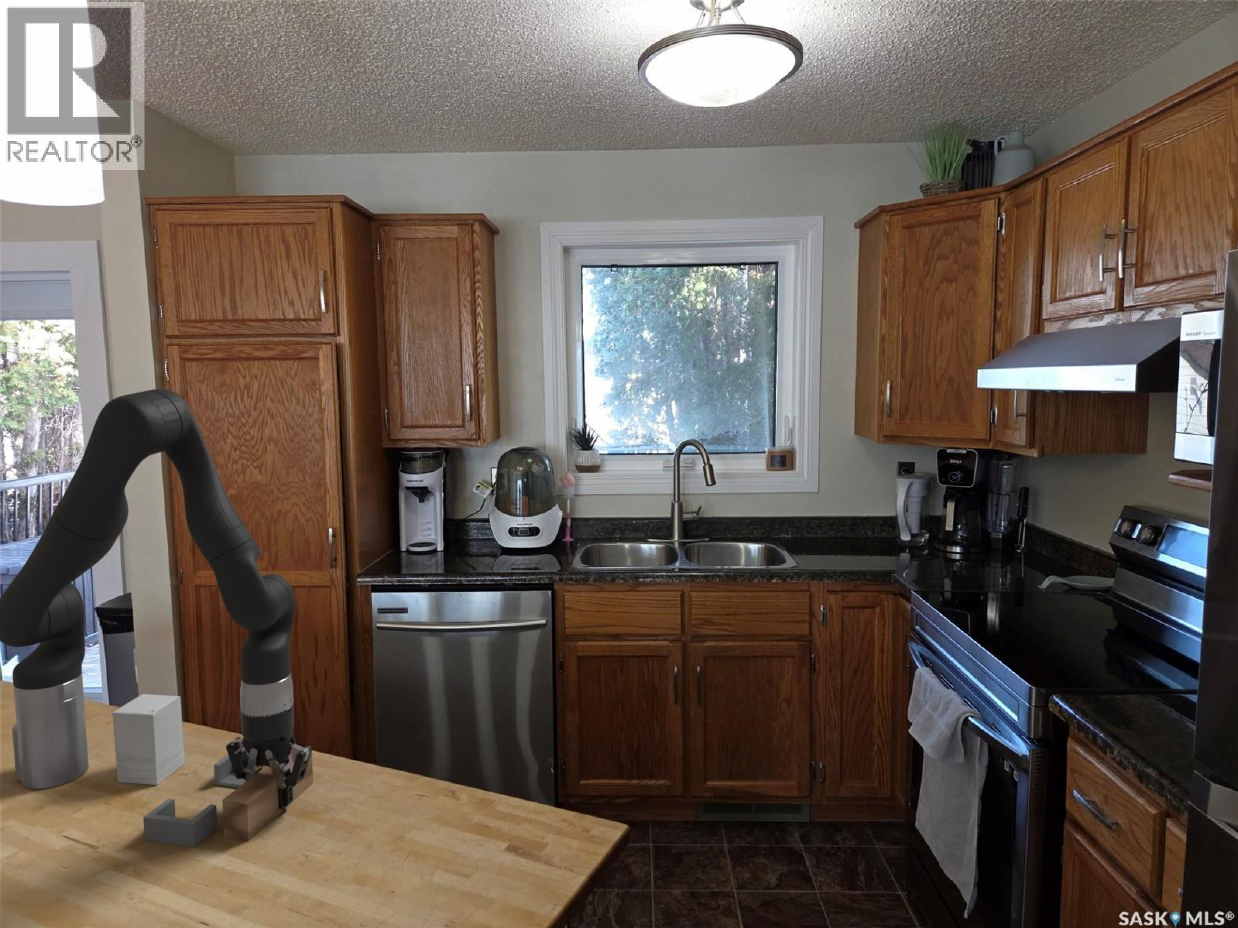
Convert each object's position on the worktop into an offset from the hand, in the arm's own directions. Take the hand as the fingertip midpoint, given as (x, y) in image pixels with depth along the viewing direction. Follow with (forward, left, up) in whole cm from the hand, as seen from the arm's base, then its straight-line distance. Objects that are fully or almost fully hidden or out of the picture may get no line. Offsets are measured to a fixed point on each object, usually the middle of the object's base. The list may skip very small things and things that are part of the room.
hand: (271, 804), depth 120 cm
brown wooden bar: (0, 0, -1) cm, 1 cm away
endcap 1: (-9, -9, -1) cm, 12 cm away
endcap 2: (-9, +6, -1) cm, 11 cm away
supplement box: (-26, +5, -1) cm, 27 cm away
